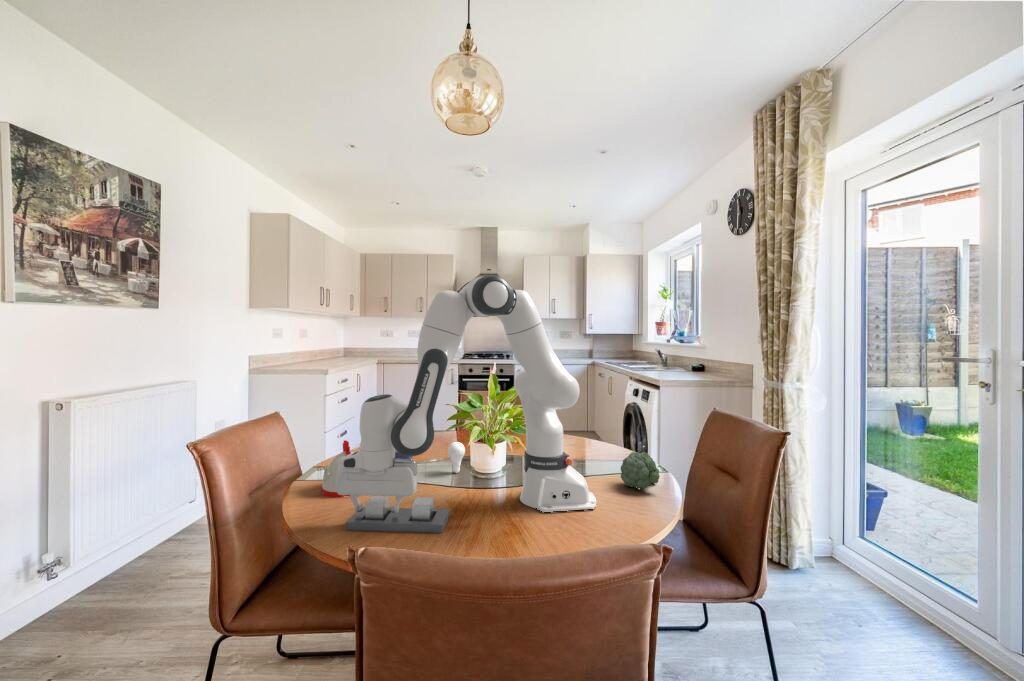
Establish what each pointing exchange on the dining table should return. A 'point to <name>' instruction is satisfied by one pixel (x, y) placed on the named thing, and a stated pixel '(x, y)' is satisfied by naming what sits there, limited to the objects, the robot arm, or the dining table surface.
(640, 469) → the vegetable
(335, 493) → the chicken hat
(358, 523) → the grey slotted board
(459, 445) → the lightbulb
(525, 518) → the dining table surface
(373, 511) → the grey rectangular block
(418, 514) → the light gray block
